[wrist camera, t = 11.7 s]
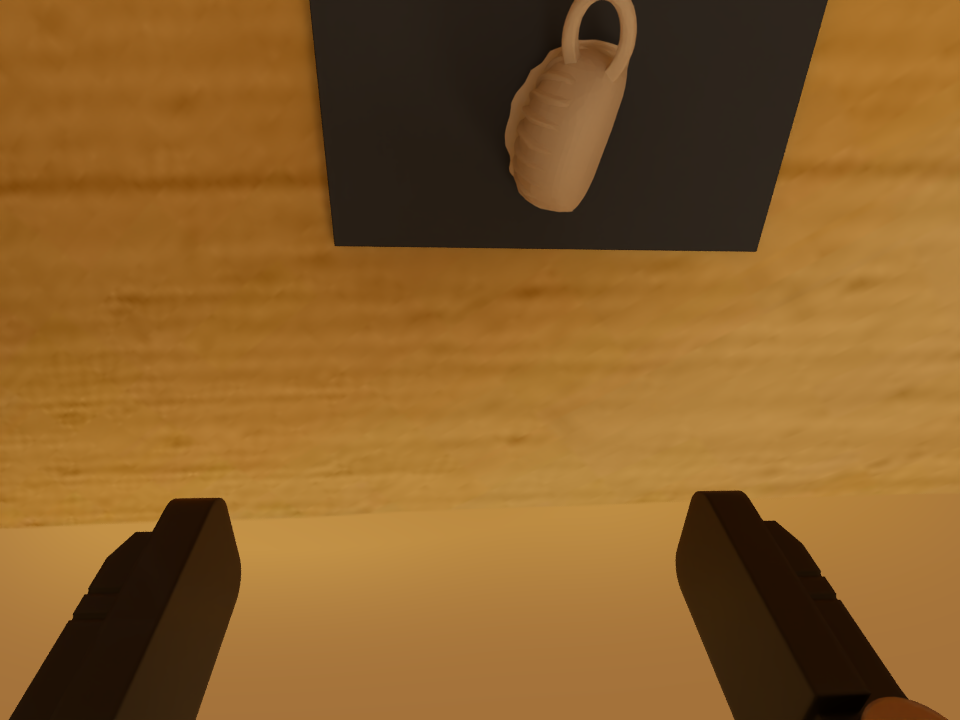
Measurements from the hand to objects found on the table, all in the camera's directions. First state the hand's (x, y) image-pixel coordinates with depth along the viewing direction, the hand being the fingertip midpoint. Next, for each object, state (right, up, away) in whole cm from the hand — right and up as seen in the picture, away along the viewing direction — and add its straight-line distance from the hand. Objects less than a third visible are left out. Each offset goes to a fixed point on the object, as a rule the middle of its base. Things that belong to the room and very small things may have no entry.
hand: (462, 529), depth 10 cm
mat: (+4, +14, +15) cm, 20 cm away
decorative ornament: (+4, +14, +15) cm, 20 cm away
